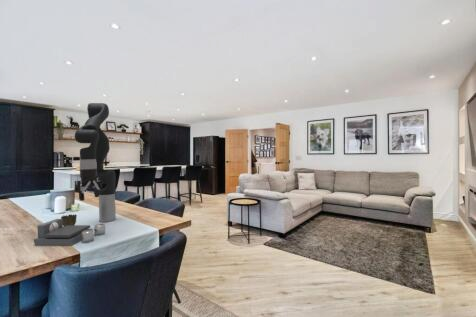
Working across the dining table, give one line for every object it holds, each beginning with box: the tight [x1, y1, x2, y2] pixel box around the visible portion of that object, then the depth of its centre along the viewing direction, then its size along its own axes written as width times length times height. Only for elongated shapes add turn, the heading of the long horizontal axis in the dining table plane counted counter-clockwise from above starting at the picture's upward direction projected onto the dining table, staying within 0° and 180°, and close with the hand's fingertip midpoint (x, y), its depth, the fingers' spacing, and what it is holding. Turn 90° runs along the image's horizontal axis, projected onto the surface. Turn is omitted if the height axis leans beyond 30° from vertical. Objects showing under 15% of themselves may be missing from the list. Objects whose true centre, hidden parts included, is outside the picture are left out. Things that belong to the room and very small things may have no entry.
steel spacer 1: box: [81, 229, 95, 244], centre depth 119 cm, size 5×5×5 cm
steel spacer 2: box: [93, 223, 106, 237], centre depth 129 cm, size 5×5×5 cm
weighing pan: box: [43, 224, 91, 237], centre depth 122 cm, size 15×13×1 cm
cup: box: [60, 213, 78, 227], centre depth 138 cm, size 8×7×8 cm
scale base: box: [33, 218, 94, 247], centre depth 122 cm, size 16×18×9 cm
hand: (89, 198), depth 125 cm, fingers open, 8 cm apart
